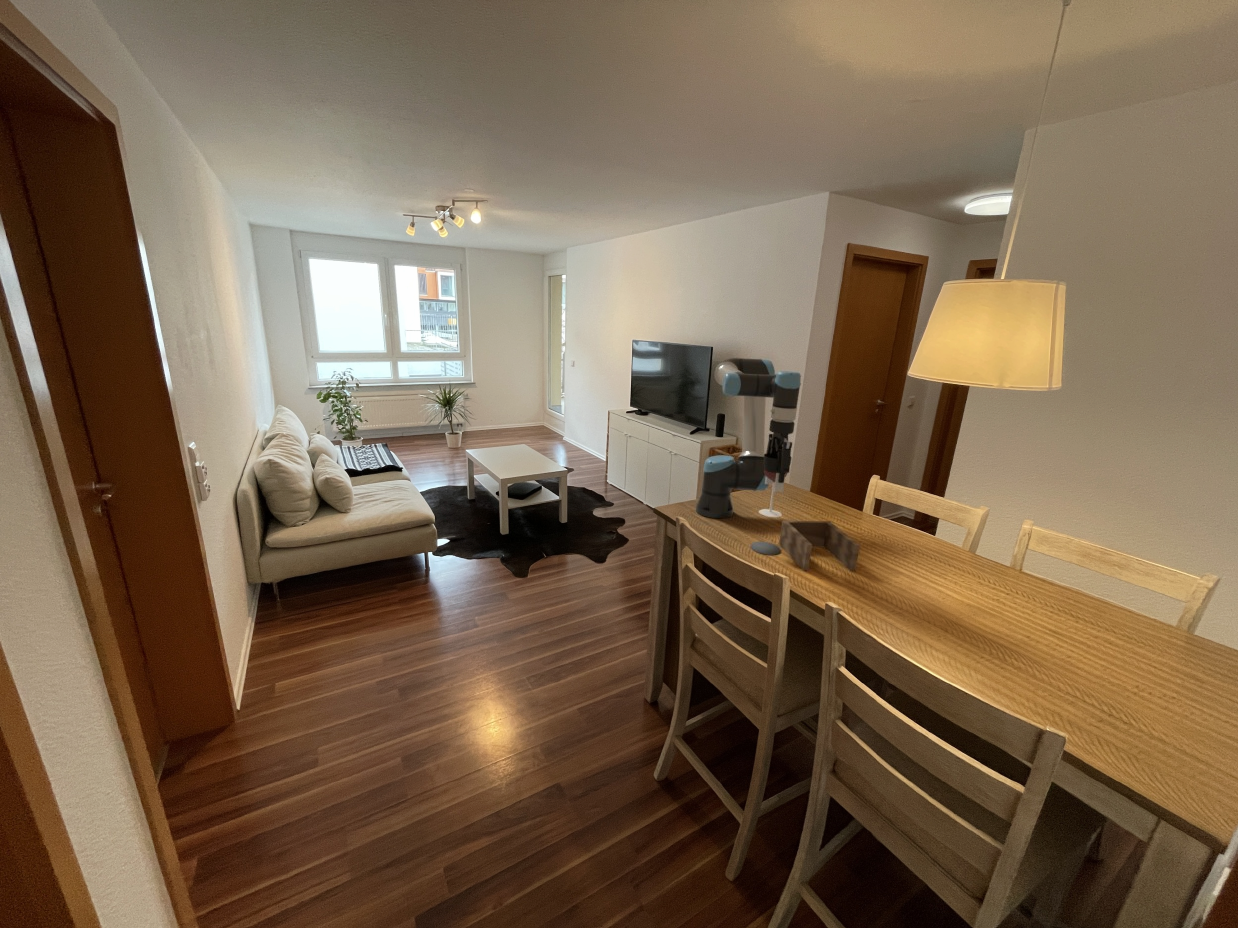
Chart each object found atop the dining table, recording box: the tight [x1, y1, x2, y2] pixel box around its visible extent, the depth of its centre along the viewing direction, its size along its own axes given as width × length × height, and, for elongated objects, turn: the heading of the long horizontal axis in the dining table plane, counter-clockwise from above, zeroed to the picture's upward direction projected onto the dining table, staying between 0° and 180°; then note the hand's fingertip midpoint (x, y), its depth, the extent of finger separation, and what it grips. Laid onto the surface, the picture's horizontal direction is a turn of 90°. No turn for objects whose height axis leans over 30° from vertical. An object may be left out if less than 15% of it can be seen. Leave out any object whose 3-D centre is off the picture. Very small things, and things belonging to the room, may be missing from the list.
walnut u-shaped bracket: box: [778, 520, 861, 572], centre depth 165 cm, size 20×17×9 cm
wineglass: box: [758, 453, 793, 518], centre depth 165 cm, size 8×9×20 cm
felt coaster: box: [750, 541, 782, 556], centre depth 171 cm, size 10×10×1 cm
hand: (773, 487), depth 165 cm, fingers closed on wineglass, 7 cm apart
